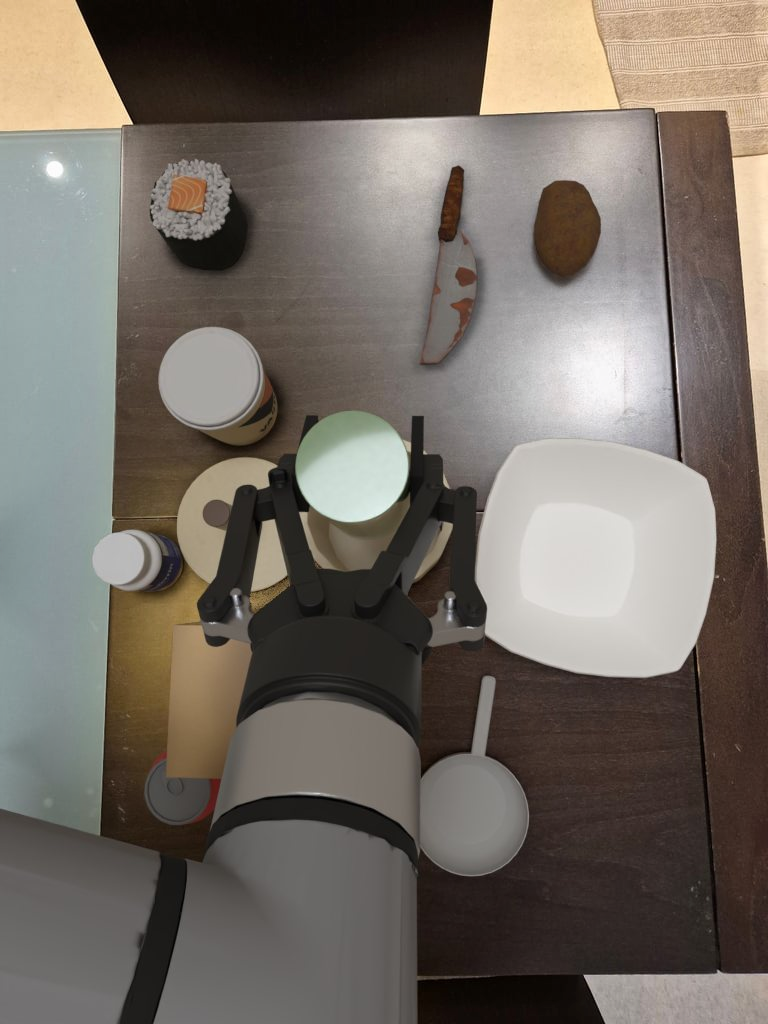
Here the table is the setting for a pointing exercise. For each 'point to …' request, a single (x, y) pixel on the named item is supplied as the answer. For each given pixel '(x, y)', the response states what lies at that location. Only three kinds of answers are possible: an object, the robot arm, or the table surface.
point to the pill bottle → (137, 561)
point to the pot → (361, 543)
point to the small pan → (472, 805)
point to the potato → (566, 228)
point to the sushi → (199, 215)
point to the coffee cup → (218, 386)
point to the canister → (355, 474)
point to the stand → (203, 701)
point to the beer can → (179, 795)
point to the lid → (226, 521)
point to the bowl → (596, 557)
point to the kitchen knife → (451, 278)
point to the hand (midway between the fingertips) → (365, 434)
